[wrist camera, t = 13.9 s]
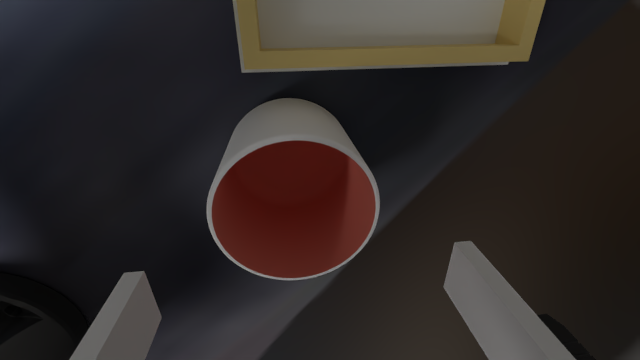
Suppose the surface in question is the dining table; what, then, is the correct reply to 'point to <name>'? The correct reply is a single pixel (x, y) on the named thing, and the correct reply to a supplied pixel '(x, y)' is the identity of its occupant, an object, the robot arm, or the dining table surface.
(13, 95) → the dining table surface
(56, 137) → the dining table surface
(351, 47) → the panel
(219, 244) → the cup
